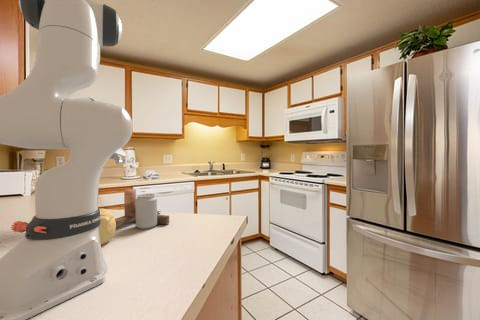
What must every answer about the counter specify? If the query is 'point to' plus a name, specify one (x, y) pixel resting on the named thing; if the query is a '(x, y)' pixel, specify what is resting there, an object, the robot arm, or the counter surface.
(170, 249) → the counter surface
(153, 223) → the can
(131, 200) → the brown wooden stand
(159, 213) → the rail
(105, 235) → the pale yellow rounded lump
